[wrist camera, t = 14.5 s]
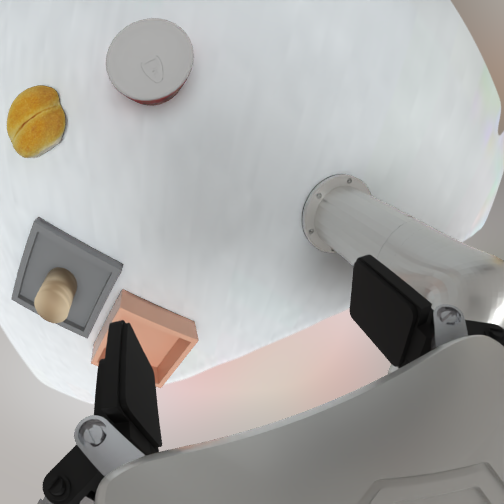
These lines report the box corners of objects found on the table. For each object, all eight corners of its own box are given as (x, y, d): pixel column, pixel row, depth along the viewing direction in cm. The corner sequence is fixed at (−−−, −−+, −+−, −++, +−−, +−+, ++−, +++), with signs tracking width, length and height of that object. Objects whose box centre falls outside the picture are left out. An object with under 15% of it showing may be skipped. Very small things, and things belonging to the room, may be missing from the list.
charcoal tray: (123, 264, 38) (121, 270, 37) (89, 331, 41) (87, 338, 39) (38, 216, 31) (33, 221, 30) (15, 292, 34) (11, 299, 33)
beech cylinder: (81, 277, 36) (72, 302, 31) (71, 302, 37) (63, 328, 32) (51, 261, 34) (38, 284, 29) (43, 288, 35) (31, 312, 30)
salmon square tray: (194, 321, 46) (198, 340, 42) (159, 369, 48) (160, 388, 44) (122, 289, 40) (119, 307, 36) (93, 343, 42) (90, 363, 38)
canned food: (149, 118, 31) (144, 118, 22) (108, 75, 27) (86, 59, 18) (198, 77, 31) (213, 61, 21) (157, 34, 26) (157, 2, 17)
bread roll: (53, 75, 25) (42, 71, 21) (75, 134, 29) (65, 137, 26) (4, 109, 24) (-10, 110, 20) (25, 166, 28) (13, 172, 25)
